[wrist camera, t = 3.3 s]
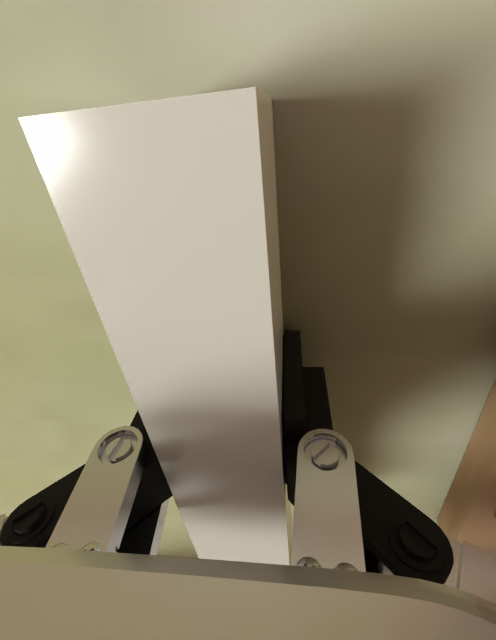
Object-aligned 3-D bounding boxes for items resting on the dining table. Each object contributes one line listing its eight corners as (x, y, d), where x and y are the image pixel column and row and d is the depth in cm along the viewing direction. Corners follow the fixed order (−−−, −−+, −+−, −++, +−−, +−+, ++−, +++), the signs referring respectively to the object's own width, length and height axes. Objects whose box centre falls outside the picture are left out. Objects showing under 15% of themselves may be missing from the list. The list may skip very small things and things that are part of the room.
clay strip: (290, 479, 16) (292, 605, 12) (232, 476, 17) (215, 598, 13) (271, 99, 8) (255, 86, 4) (154, 114, 8) (18, 117, 4)
